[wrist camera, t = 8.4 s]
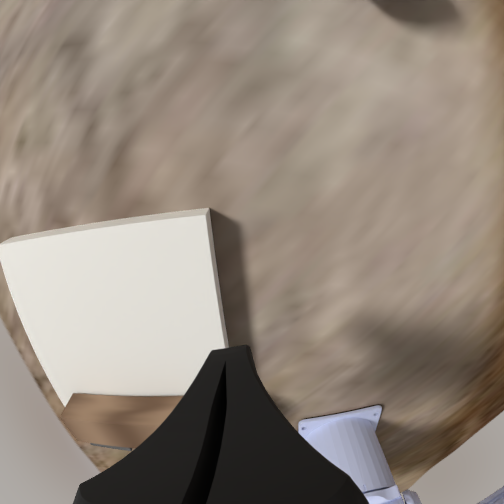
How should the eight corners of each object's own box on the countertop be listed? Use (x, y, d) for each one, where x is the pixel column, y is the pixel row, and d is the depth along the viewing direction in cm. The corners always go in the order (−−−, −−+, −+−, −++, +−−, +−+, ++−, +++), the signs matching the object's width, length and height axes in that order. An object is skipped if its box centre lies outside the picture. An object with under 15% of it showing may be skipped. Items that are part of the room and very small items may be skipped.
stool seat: (241, 417, 24) (241, 457, 19) (82, 410, 24) (67, 442, 19) (209, 207, 18) (199, 226, 14) (11, 237, 18) (-25, 257, 13)
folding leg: (226, 391, 20) (225, 423, 17) (234, 420, 21) (234, 450, 18) (72, 391, 20) (58, 415, 17) (89, 418, 21) (78, 442, 18)
